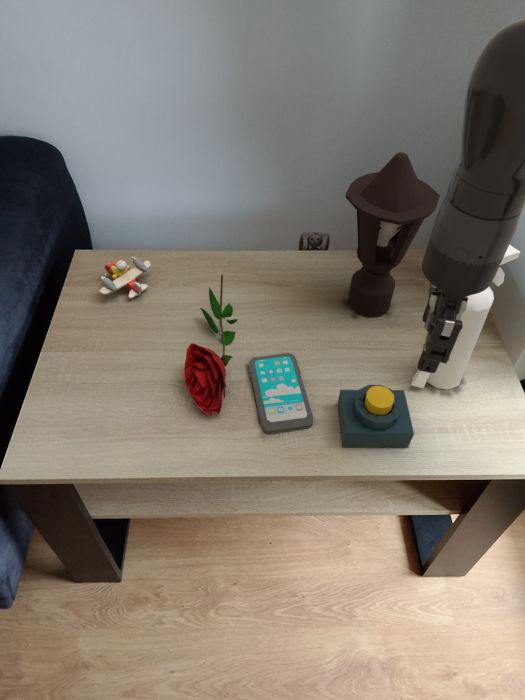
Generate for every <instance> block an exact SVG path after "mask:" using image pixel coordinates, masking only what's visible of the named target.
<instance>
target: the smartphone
mask: <svg viewBox="0 0 525 700" xmlns="http://www.w3.org/2000/svg"><path fill="white" fill-rule="evenodd" d="M300 369H301V368H300V366H299V364H298V361H297V358H296V356H295V354H293V353H291V352H290V353H289V352H286V353H285V352H284V353H278V354H270V355H263V356H254V357H252V358H250V359H249V361H248V373H249V376H250V382H251V384H252V389H253V394H254V398H255V403H256V408H257V412H258V417H259V421H260V426H261V428H262V430H263V431H264V432H265V433H266V434H277V433H283V432H290V431H291V432H292V431H296V430H297V431H298V430H304V429H309V428H311V427H312V426H313V425H314V415H313V410H312V407H311V404H310V401H309V398H308V393H307V391H306V388H305V384H304V381H303V377H302V372H301V370H300Z"/></svg>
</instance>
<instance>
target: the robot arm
mask: <svg viewBox="0 0 525 700" xmlns="http://www.w3.org/2000/svg"><path fill="white" fill-rule="evenodd" d="M468 79H469V80H468V83H467V86H466V91H465V99H464V105H463V118H462V128H461V149H460V154H459V157H458V159H457V162H456V165H455V167H454V170H453V174H452V177H451V179H450V183H449V185H448V188H447V191H446V195H445V197H444V199H443V201H442V203H441V205H440V207H439V209H438V212H437V215H436V218H435V221H434V224H433V228H432V231H431V233H430V237H429V240H428V242H427V246H426V249H425V252H424V255H423V259H422V263H421V270H422V273H423V276H424V277H425V279H426V280H427V281H428V282H429V288H428V290H427V293H428V301H427V303H426V306H425V309H424V312H423V314H422V322H423V323H424V329H425V330H426V332H427V333H426V336H425V341H424V343H423V345H422V350H421V354H420V357H419V359H418V361H417V366H416V367H417V371H419V370H420V371H424V372H428V373H435V372H436V370H437V368H438V366H439V363H440V362H441V363H445V364H446V363H447V361H448V360H449V356H450V354H451V352H452V349H453V347H454V345H455V342H456V340H457V337H458V335H459V333H460V330H461V329H462V327H463V324H462V321H460V319H461V315H462V313H463V312H464V311H465V310H466V306H467V302H468V297H467V296H470V295H474V294H477V293H480V292H482V291H484V290H486V289H487V288H488V287H490V286H491V285H492V284H493V282H492V281H493V279H494V277H495V275H496V273H497V270H498V268H499V267H500V266H501V265H500V264H501V262H502V260H503V258H504V255H505V253H506V251H507V249H508V247H509V245H511V242H512V241H513V238H514V236H515V233H516V231H517V228H518V225H519V221H520V218H521V215H522V212H523V210H524V208H525V17H523V18H520V19H518V20H515V21H513V22H512V23H509V24H507V25H505V26H504V27H502V28H501V29H500V30H498V31H497V32H495V34H494V35H492V36H491V38H490V39H489V40H488V41H487V43H486V44H485V45H484V46H483V48H482V50H481V51H480V54H479V55H478V57H477V60H476V61H475V63H474V66H473V68H472V71H471V73H470V76H469V78H468Z"/></svg>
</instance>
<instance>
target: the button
mask: <svg viewBox="0 0 525 700" xmlns="http://www.w3.org/2000/svg"><path fill="white" fill-rule="evenodd" d="M383 386H384V385H383ZM383 386H373V387H371V388H370V389H369V390H368V391H367V394H366V398H365V401H364V404H365V407H366V409H367V410H368V411H369V412H370V413H371V414H374V415H377V416H383V415H386V414H388V413H389V412H390V411H391V408H392V405H393V402H394V395H393V393H392V392H391V391H390V390H389V389H388V388H389V387H387V386H385V387H383ZM386 387H387V388H386Z"/></svg>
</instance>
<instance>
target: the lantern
mask: <svg viewBox="0 0 525 700" xmlns="http://www.w3.org/2000/svg"><path fill="white" fill-rule="evenodd" d="M414 169H415V168H414V167H413V164H412V162H411V160H410V157H409V155H408V154H407V153H405V152H401V151H400V152H397V153H395V154H394V156H392V157H391V159H390V160H389V161H387V163H386V164H385V165H384V166H383V167H382V168H381V169H380V170H379V171H377V172H371V173H367V174H364V175H361V176H358V177H357V178H356V179H355V180H353V181H352V182H351V183H350V185H349V187H348V189H347V190H346V192H345V199H346V200H347V201H348V202H349V203H350V204H351V206H352V207H353V208H354V209H355V210H356V226H357V227H356V228H357V229H356V230H357V231H356V232H357V248H356V256H357V259H358V260H359V262H360V263H361V266H362V267H360V269H358V270H356V271H355V272H353V274H352V276H351V279H350V285H349V290H348V295H347V305H348V307H349V309H350V310H351V311H352V312H354V314H357V315H358V316H359V317H365V318H372V319H373V318H379V317H383V316H384V315H386V314H387V313H388V311H390V308H391V303H392V299H393V296H394V292H395V290H396V289H395V288H396V285H397V284H396V281H395V278H394V277H393V276H392V274H391V271H392V270H393V269H394V268H396V267H398V266H399V265H400V264H401V262H402V261H403V259H404V258H405V255H406V254H407V252H408V250H409V249H410V246H411V245H412V242H413V241H414V239H415V238H416V235H417V233H418V231H419V229H420V228H421V226H422V225H423V222H424V221H425V219H426V218H429V217H430V216H431V215H432V214H433V213H434V212H435V211H436V209H437V207H438V204H439V200H440V198H441V195H440V194H439V193H438V192H437V191H436V190H435V189H434V188H433V187H432V186H430V185H429V184H428V183H427V182H424V181H423V180H422V179H420V178H418V176H417V173H416V171H415V170H414Z"/></svg>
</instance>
